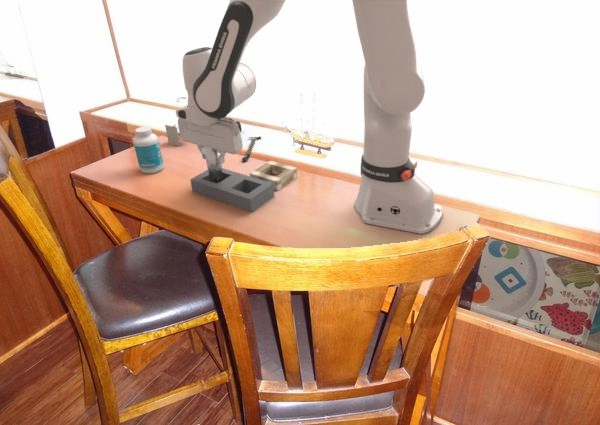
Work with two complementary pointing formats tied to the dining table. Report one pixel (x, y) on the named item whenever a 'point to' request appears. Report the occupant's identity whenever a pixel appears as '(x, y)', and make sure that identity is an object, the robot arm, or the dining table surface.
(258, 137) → the tomahawk
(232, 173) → the block
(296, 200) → the dining table surface
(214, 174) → the metal peg
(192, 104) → the robot arm
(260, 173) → the socket block
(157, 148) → the pill bottle
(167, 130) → the architectural model
